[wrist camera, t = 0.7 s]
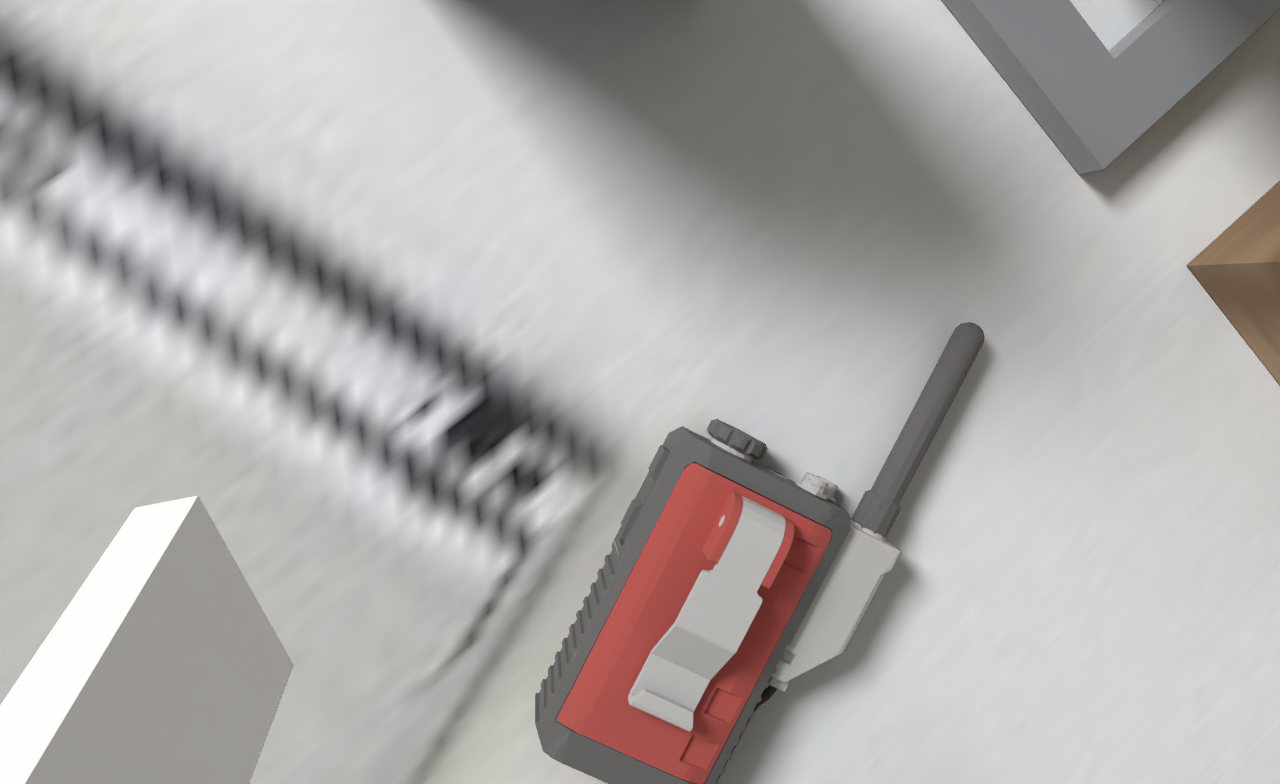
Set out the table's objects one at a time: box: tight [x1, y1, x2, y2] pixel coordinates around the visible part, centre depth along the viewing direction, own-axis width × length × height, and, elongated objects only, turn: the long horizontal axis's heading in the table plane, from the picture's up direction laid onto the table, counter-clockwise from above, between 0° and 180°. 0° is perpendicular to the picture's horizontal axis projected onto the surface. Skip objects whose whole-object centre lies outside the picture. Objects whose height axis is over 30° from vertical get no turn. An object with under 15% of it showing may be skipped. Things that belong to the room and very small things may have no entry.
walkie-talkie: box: [535, 322, 984, 784], centre depth 32 cm, size 9×4×20 cm
